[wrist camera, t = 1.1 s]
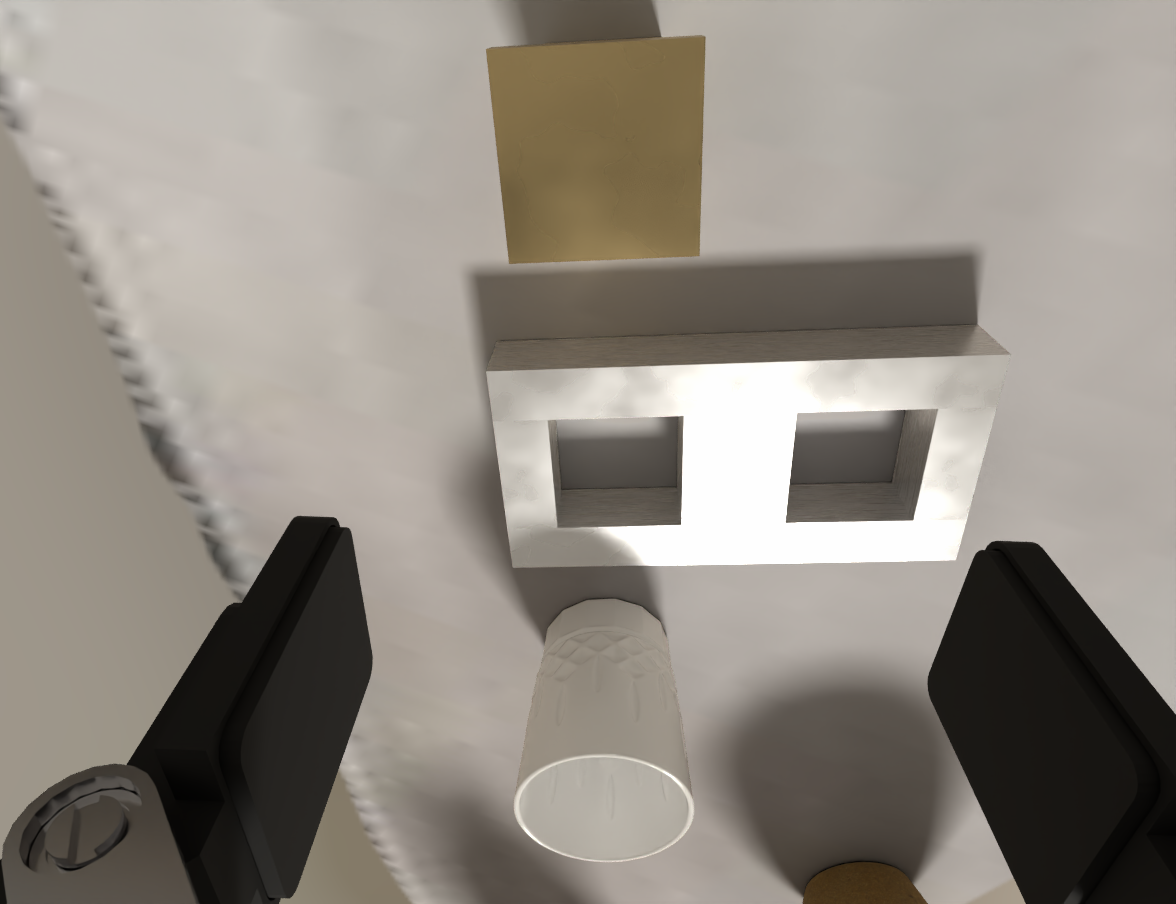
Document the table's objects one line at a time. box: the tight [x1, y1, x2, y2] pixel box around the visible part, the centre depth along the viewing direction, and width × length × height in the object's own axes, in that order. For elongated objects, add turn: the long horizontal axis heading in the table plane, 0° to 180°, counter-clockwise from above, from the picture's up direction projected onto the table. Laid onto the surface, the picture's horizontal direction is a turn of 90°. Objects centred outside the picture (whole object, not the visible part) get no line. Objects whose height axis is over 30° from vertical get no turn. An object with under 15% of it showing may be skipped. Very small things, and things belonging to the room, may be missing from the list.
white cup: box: [514, 599, 694, 862], centre depth 36 cm, size 8×8×10 cm
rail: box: [486, 325, 1011, 568], centre depth 32 cm, size 20×10×3 cm, turn 93°
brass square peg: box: [486, 35, 705, 264], centre depth 22 cm, size 5×5×11 cm
